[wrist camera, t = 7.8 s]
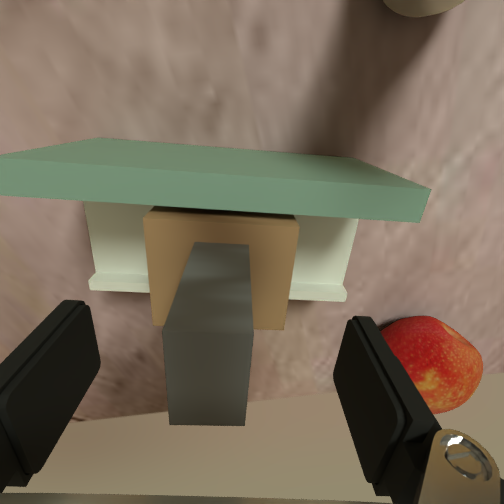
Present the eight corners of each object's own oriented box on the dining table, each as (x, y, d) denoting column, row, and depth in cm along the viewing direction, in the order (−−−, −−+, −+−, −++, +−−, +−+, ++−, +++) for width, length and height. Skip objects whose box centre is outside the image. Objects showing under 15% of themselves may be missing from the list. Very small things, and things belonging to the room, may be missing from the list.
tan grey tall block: (280, 189, 19) (340, 308, 8) (271, 267, 22) (305, 444, 10) (175, 183, 19) (68, 296, 7) (178, 263, 22) (104, 442, 10)
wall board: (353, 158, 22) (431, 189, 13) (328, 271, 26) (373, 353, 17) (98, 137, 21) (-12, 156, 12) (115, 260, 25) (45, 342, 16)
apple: (346, 329, 29) (380, 398, 22) (421, 283, 27) (486, 344, 20) (383, 370, 32) (423, 444, 25) (454, 332, 30) (520, 401, 23)
